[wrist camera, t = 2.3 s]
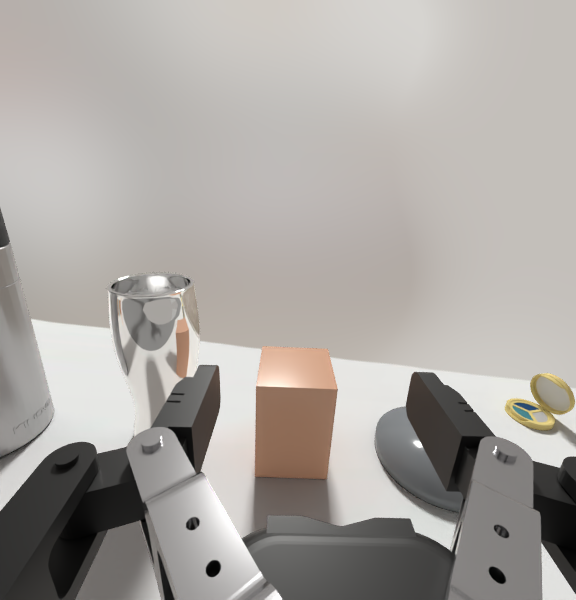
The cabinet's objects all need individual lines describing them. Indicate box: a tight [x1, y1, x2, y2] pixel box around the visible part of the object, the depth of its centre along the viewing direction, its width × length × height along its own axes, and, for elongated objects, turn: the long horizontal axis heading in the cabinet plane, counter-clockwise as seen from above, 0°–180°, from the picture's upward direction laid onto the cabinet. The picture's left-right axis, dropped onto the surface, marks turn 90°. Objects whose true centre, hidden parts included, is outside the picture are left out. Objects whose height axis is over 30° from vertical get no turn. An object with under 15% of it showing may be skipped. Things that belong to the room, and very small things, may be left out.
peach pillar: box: [255, 346, 338, 479], centre depth 27 cm, size 6×6×9 cm
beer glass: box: [107, 272, 200, 437], centre depth 28 cm, size 7×7×15 cm
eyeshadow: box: [505, 373, 575, 430], centre depth 34 cm, size 4×5×5 cm
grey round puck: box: [375, 407, 463, 512], centre depth 29 cm, size 11×11×1 cm
